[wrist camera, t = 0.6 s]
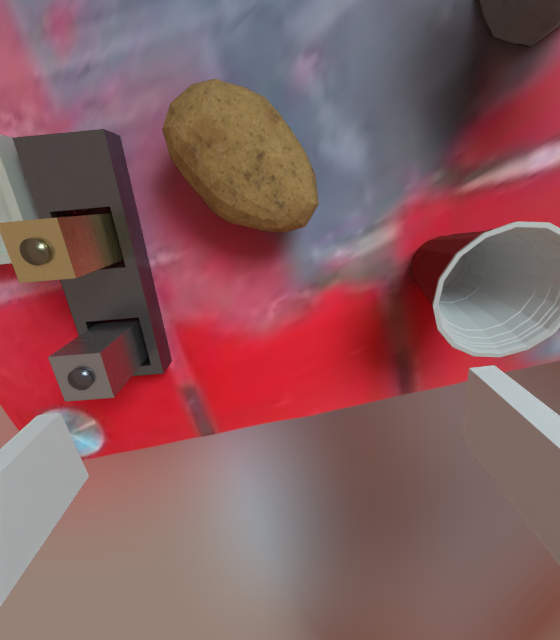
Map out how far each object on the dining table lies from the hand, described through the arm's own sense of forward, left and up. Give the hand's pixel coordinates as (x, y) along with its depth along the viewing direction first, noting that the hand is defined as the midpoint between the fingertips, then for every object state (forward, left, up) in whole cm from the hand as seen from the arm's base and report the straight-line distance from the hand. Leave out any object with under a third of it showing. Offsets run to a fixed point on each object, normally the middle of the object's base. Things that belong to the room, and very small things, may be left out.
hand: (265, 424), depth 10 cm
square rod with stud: (+6, -17, -26) cm, 32 cm away
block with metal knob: (-5, -17, -26) cm, 31 cm away
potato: (-10, -1, -26) cm, 28 cm away
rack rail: (-2, -17, -26) cm, 31 cm away
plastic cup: (+1, +18, -26) cm, 31 cm away
